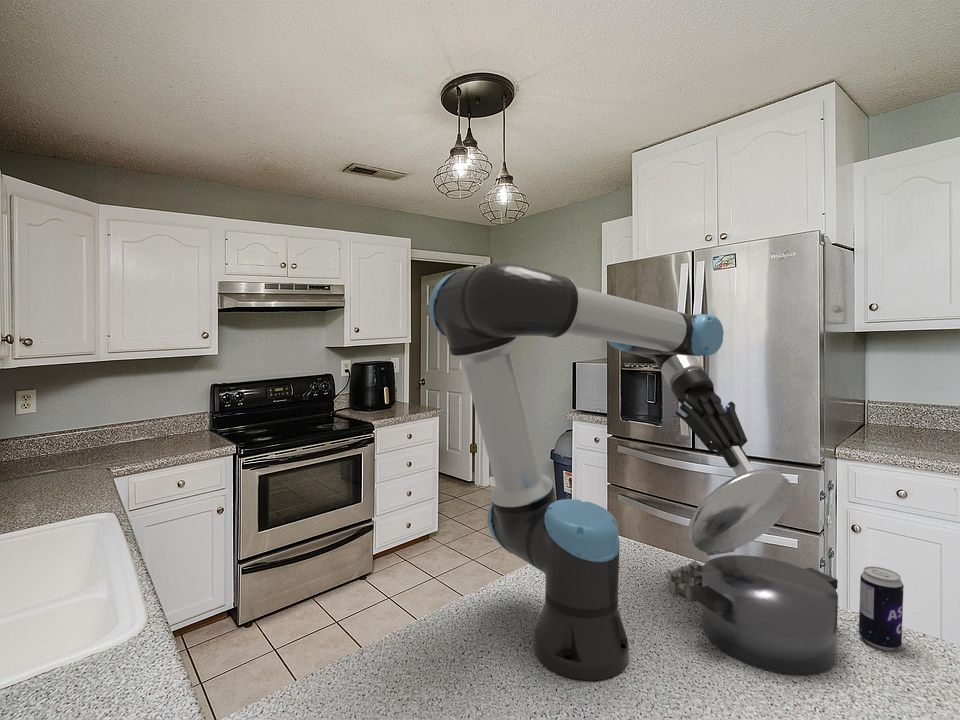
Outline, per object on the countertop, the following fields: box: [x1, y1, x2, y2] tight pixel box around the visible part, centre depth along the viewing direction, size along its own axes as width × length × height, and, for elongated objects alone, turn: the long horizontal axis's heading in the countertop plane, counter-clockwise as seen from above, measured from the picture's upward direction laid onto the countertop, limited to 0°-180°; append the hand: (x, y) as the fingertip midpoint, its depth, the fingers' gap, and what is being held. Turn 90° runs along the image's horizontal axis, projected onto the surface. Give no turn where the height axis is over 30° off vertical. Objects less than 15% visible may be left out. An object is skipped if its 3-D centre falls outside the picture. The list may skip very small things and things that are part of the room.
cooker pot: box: [693, 554, 839, 676], centre depth 88 cm, size 26×20×10 cm
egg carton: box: [665, 560, 704, 601], centre depth 105 cm, size 11×8×4 cm
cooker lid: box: [687, 468, 793, 556], centre depth 94 cm, size 20×20×2 cm
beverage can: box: [858, 566, 905, 651], centre depth 86 cm, size 6×6×12 cm
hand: (750, 481), depth 91 cm, fingers closed
